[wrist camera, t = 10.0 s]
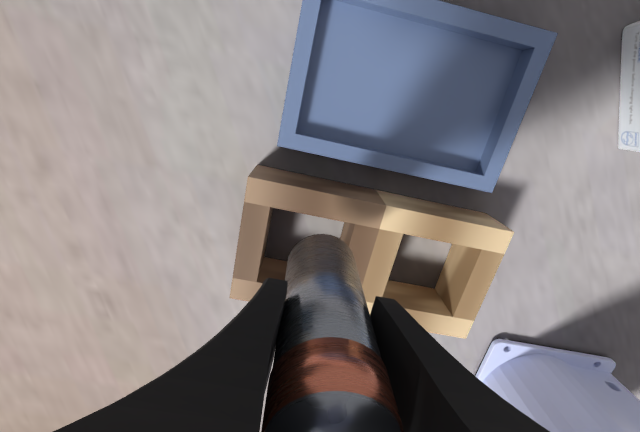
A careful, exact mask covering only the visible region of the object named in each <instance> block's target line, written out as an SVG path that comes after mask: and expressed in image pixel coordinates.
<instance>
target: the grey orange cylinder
mask: <svg viewBox="0 0 640 432" xmlns="http://www.w3.org/2000/svg"><path fill="white" fill-rule="evenodd" d="M285 281H288V286H287V294H286V299H285V304H284V309H283V314H282V319H281V323H280V327H279V332H278V336H277V341H276V348H275V355H274V363H273V369H272V371H271V373H270V377H269V383H268V390H267V397H266V404H265V411H264V417H263V424H262V431H261V432H404V430H403V426H402V423H401V419H400V416H399V412H398V409H397V405H396V401H395V398H394V394H393V391H392V387H391V383H390V380H389V376H388V373H387V369H386V367H385V365H384V363H383V361H382V358H381V355H380V351H379V347H378V344H377V340H376V336H375V332H374V329H373V325H372V321H371V318H370V314H369V310H368V307H367V303H366V299H365V295H364V292H363V288H362V284H361V281H360V277H359V273H358V270H357V266H356V262H355V258H354V255H353V253H352V251H351V249H350V247H349V246H348V245H347V244H346V243H345V242H344V241H342V240H341V239H339V238H337V237H334V236H331V235H326V234H317V235H312V236H309V237H306V238H304V239H303V240H301V241H300V242H298V243H297V244H296V245H295V246H294V247H293V249H292V250H291V252H290V254H289V257H288V261H287V269H286V276H285Z"/></svg>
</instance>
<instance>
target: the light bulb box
mask: <svg viewBox="0 0 640 432" xmlns="http://www.w3.org/2000/svg"><path fill="white" fill-rule="evenodd" d="M618 148H619V149H624V150H629V151H636V152H640V21H638V22H635V23H632V24H630V25H627V26H626V27H625V28H624V29H623V33H622V51H621V74H620V101H619V128H618Z"/></svg>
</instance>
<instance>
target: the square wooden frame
mask: <svg viewBox="0 0 640 432" xmlns="http://www.w3.org/2000/svg"><path fill="white" fill-rule="evenodd" d="M273 208H277V209H282V210H287V211H292V212H297V213H302V214H307V215H312V216H317V217H322V218H327V219H332V220H337V221H342V222H344V226H343V230H342V234H341V237H340V239H341V240H342V241H344V242H345V243H346V244H347V245H348V246H349V247H350V249H351V251H352V253H353V255H354V258H355V262H356V266H357V270H358V273H359V277H360V281H361V284H363V281H364V278H365V275H366V271H367V268H368V265H369V262H370V258H371V255H372V252H373V248H374V245H375V242H376V239H377V235H378V232H379V229H380V225H381V222H382V219H383V216H384V212H385V209H386V204H385V203H384V201H383V200H382V198H381V197H380V195H379V194H378V192H377V191H376V190H374V189H370V188H365V187H360V186H356V185H351V184H346V183H341V182H337V181H332V180H327V179H323V178H318V177H313V176H308V175H304V174H299V173H294V172H290V171H285V170H280V169H276V168H271V167H266V166H261V165H257V166H256V167H255V168H254V170H253V171H252V172H251V173H250V175H249V176H248V180H247V186H246V193H245V199H244V206H243V213H242V219H241V226H240V232H239V239H238V246H237V252H236V259H235V265H234V272H233V279H232V285H231V292H230V298H232V299H237V300H243V301H250V300H251V299H252V298H253V296H254V295H255V294H256V293H257V291H258V290H259V288H260V287H261V285H262V284H263V282H264V280H265V279H267V278H273V279H279V280H285V276H286V269H287V261H283V260H278V259H272V258H267V257H264V254H265V249H266V244H267V238H268V233H269V227H270V222H271V216H272V211H273Z"/></svg>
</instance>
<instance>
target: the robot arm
mask: <svg viewBox="0 0 640 432" xmlns="http://www.w3.org/2000/svg"><path fill="white" fill-rule="evenodd" d="M287 286H288V281H285V280H279V279H273V278H267V279H265V280H264V282H263V284H262V285H261V287H260V288H259V290H258V291H257V293H256V294H255V295H254V296H253V298H252V299H251V300H250V301H249V302H248V304H247V305H246V306H245V307H244V308H243V309H242V310H241V311H240V313H239V314H238V315H237V316H236V317H235V318H234V319H233V320H232V321H230V322H229V323H228V324H227V325H226V326H225V327H224V328H223V329H222V330H221V331H220V332H219V333H218V334H217V335H216V336H214V337H213V338H212V339H211V340H210V341H208V342H207V343H206V344H205V345H203V346H202V347H201V348H200V349H198V350H197V351H196V352H195V353H193V354H192V355H190V356H189V357H188V358H186V359H185V360H183V361H182V362H181V363H179V364H178V365H176V366H175V367H173V368H172V369H170V370H169V371H167V372H166V373H164V374H163V375H161V376H160V377H158V378H156V379H155V380H153V381H151V382H149V383H148V384H146V385H144V386H143V387H141V388H139V389H137V390H136V391H134V392H132V393H131V394H129V395H127V396H126V397H124V398H122V399H120V400H118V401H116V402H115V403H113V404H111V405H109V406H107V407H105V408H102V409H100V410H98V411H96V412H94V413H92V414H90V415H88V416H86V417H84V418H82V419H79V420H77V421H75V422H73V423H71V424H69V425H67V426H65V427H62V428H60V429H58V430H56V431H53V432H259V430H260V422H261V415H262V408H263V400H264V394H265V390H266V386H267V382H268V378H269V374H270V370H271V366H272V362H273V357H274V352H275V348H276V341H277V336H278V332H279V327H280V323H281V319H282V314H283V309H284V304H285V299H286V294H287ZM370 318H371V321H372V325H373V329H374V332H375V336H376V340H377V344H378V347H379V351H380V355H381V358H382V361H383V363H384V365H385V367H386V369H387V373H388V376H389V380H390V383H391V387H392V391H393V394H394V398H395V401H396V405H397V409H398V412H399V416H400V419H401V423H402V426H403V430H404V432H640V400H639V399H638V398H637V397H636V396H634V395H633V394H632V393H631V392H630V391H629V390H628V389H627V388H626V387H625V386H624V385H623V384H621V383H620V382H619V381H618V380H617V379H616V378H615V377H614V376H613V375H612V374H611V373H612V371H613V370H614V368H615V366H616V363H615V362H614V361H613V360H612V359H611V358H608V357H602V356H597V355H591V354H585V353H579V352H573V351H568V350H562V349H556V348H550V347H545V346H539V345H533V344H527V343H522V342H516V341H510V340H504V339H496V340H494V341H493V342H492V343H491V345H490V347H489V349H488V351H487V353H486V355H485V357H484V359H483V361H482V363H481V366H480V368H479V370H478V372H477V374H476V376H474V375H473V374H472V373H471V372H469V371H468V370H467V369H466V368H465V367H464V366H463V365H462V364H461V363H459V362H458V361H457V360H456V359H455V358H454V357H453V356H452V355H451V354H449V353H448V352H447V351H446V350H445V349H444V348H443V347H442V346H441V345H440V344H439V343H438V342H437V341H436V340H435V339H434V338H433V337H432V336H431V335H430V334H429V333H428V332H427V331H426V330H425V329H424V328H423V327H422V326H421V325H420V324H419V323H418V322H417V321H416V320H415V319H414V318H413V317H412V316H411V315H410V314H409V313H408V312H407V311H406V310H405V309H404V308H403V307H402V306H401V305H400V304H399V303H398V302H397V301H396V300H395V299H390V298H385V297H379V296H376V297H375V300H374V304H373V307H372V310H371V313H370ZM506 346H507V347H506ZM505 347H506V348H505Z"/></svg>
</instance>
